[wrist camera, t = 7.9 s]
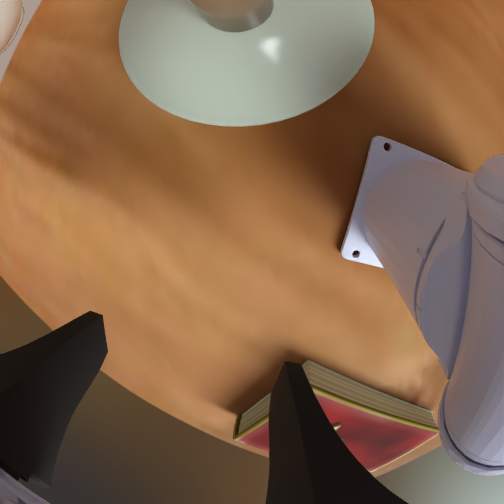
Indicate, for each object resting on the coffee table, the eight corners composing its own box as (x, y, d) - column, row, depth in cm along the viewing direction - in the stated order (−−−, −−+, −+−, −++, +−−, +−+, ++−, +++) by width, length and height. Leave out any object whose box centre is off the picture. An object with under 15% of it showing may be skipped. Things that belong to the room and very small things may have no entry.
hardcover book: (366, 451, 29) (369, 474, 25) (237, 411, 27) (230, 442, 23) (434, 407, 24) (443, 432, 20) (307, 351, 22) (308, 389, 18)
